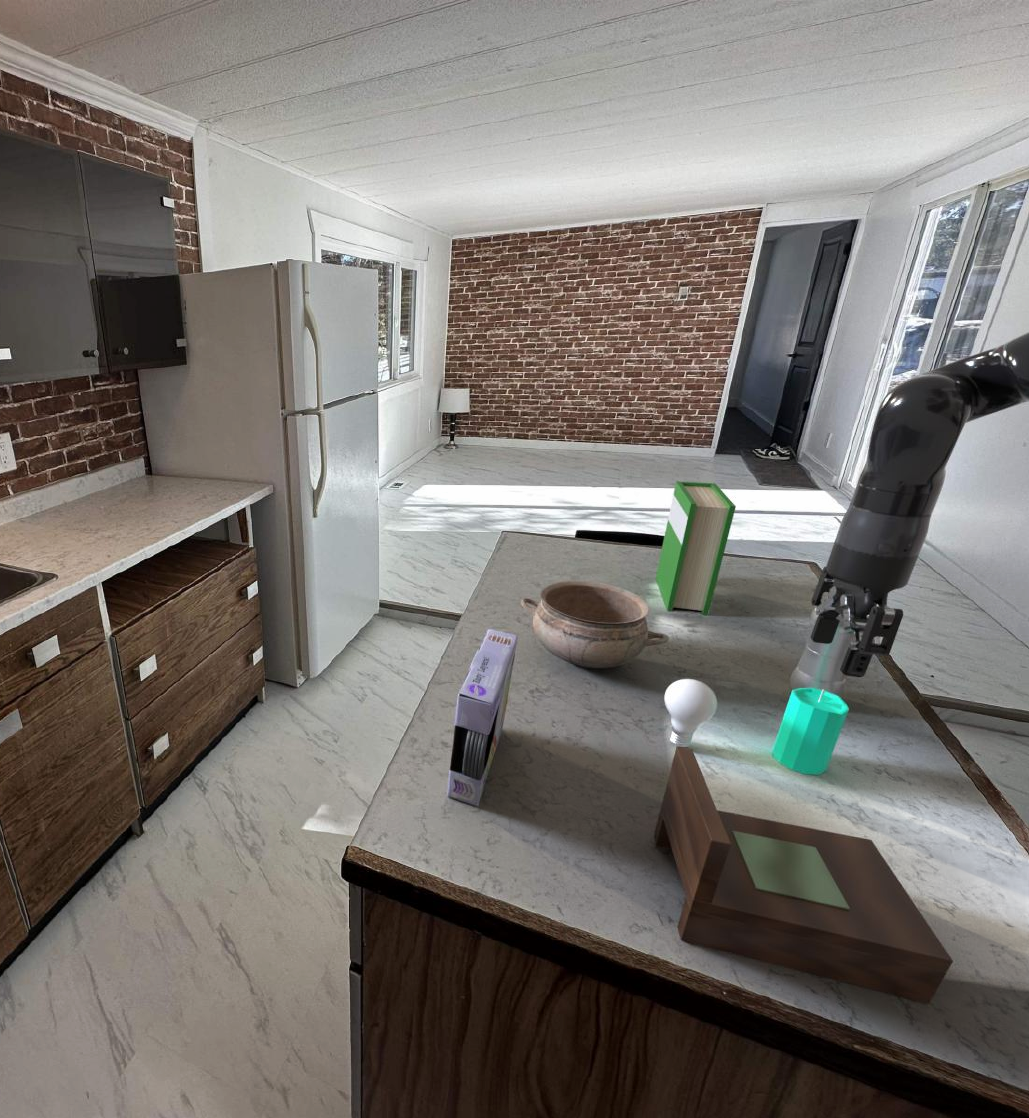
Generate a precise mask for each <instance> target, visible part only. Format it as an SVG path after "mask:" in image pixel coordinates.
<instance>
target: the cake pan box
mask: <svg viewBox="0 0 1029 1118" xmlns="http://www.w3.org/2000/svg"><path fill="white" fill-rule="evenodd" d="M518 638H519V637H518V635H516V634H512V633H510V632H509V633H508V632H504V631H500V630H497V629H492V628H488V629H487V630H486V632H485V635H484V637H483V639H482V642H481V643H480V646H479V648H478V649H477V651H476V652H475V654H474V658H473V660H472V662H471V664H470V666H469V669H468V672H467V674H466V675H465V678H464V680H463V682H462V685H461V688H460V690H459V691H458V694H457V699H456V708H455V716H454V717H455V718H454V727H453V728H454V729H453V737H452V746H451V753H450V761H449V770H448V778H447V790H446V797H448V798H451V799H454V800H456V801H457V800H458V801H460V802H463V803H465V804H468V805H470V806H471V805H472V806H474V807H479V805H480V802H481V798H482V795H483V792H484V788H485V784H486V782H487V779H488V775H489V772H490V769H491V765H492V762H493V759H494V756H495V753H496V750H497V748H498V744H499V741H500V737H501V734H502V731H503V729H504V723H505V717H506V712H507V706H508V700H509V699H508V698H509V693H510V686H511V680H512V673H513V668H514V663H515V657H516V651H517V644H518Z"/></svg>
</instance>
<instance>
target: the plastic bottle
mask: <svg viewBox="0 0 1029 1118" xmlns="http://www.w3.org/2000/svg"><path fill="white" fill-rule="evenodd" d="M816 608H817V606H814V608H813V609H812V611H811V612H810V616H809V627H808V635H807V639H806V644H805V647H804V651H803V653H802V655H801V657H800V658H799V659H800V660H799V661H798V663H797V665H796V667H795V668H794V670H793V671H792V673H791V675H790V681H789V687H790V688H791V691H792V690H795V689H798V688H815V689H819V690H823V689H824V691H827V692H830V693H832V694H835V695H837V696H840V698H841V699H842V696H843V695H844V693H845V689H846V677H847V676H846V675H844V674H843V673H842V672H841V671H840V668H841V666H842V663H843V660H844V658H845V655H846V652H847V650H848V647H850V644H849V633H848V632H847V631H846V630H845V629H844V619H843V617H842V616H841V617H836V618H838V619H839V620H840V622H839V625H838V627H837V630H836V633H835V636H834V639H833V641H832V643H830V644H824V643H815V642H814V641H813V640H812V639H811V634H812V631H813V628H814V626H815V623H816V620H817V617H818V616H819V615H816ZM855 623H856V624H858V625H866V623H858V622H855ZM859 635H860V638H862V635H863V633H859Z"/></svg>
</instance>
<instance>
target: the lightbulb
mask: <svg viewBox="0 0 1029 1118" xmlns="http://www.w3.org/2000/svg"><path fill="white" fill-rule="evenodd" d="M663 700H664V705H665V708H666V710H667V711H668V713H669V715H670V720H671V721H670V723H671V730H670V731H671V732H670V734H669V739H668V740H669V741H670V743H672V744H674V745H676V747H683V748H688V747H690V746H691V744H692V740H693V736H694V734H695V732H697V730H698V729H699V727H700V726H701V725H703V724H705V723H706V722H708V721H709V720H711V719H713V717H714V716H715V714H716V712H717V709H718V699H717V696H716V693H715V692H714V691H713V689H712V688H711V687H710V686H708V685H707V684H706V683H704V682H703V681H700V680H698V679H694V678H693V679H692V678H681V679H677V680H675V681H673V682H672V683H671V684H670V685H668V687H667V688H666V690H665V692H664V697H663Z"/></svg>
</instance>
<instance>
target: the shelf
mask: <svg viewBox="0 0 1029 1118" xmlns="http://www.w3.org/2000/svg"><path fill="white" fill-rule="evenodd" d="M655 824H656V825H655V829H654V831H653V832H654V833H653V836H652V837H653V841H654V844H655V847H657V848H662V849H666V850H671V851H672V853H673V857H674V861H675V864H676V868H677V871H678V874H679V877H680V881H681V885H682V887H683V891H684V895H685V899H684V903H683V907H682V910H681V913H680V917H679V920H678V923H677V926H676V927H677V930H678V931H677V932H678V935H679V938H680V940H681V941H683V942H687V943H691V944H695V945H699V946H703V947H705V948H710V949H713V950H714V949H715V950H718V951H721V952H726V953H730V954H733V955H737V956H741V957H745V958H748V959H752V960H757V961H761V962H765V963H768V964H772V965H777V966H780V967H784V968H788V969H791V970H795V971H800V972H803V973H807V974H811V975H815V976H819V977H823V978H826V979H830V980H834V981H838V982H842V983H846V984H849V985H853V986H857V987H862V988H865V989H868V990H873V991H877V992H881V993H884V994H888V995H892V996H897V997H900V998H903V999H909V1000H912V1001H916V1002H920V1003H924V1004H928V1005H929V1004H930V1003H931V1001H932V999H933V998H934V996H935V994H936V992H937V991H938V989H939V987H940V985H941V984H942V982H943V980H944V979H945V976H946V975H947V973H948V971H949V969H950V968H951V966H952V964H953V962H954V961H953V958H952V957H951V956H950V954H949V953H948V952H947V950H946V948H945V947H944V945H943V944H942V942H941V941H940V939H939V938H938V937H937V935H936V933H935V932H934V931H933V929H932V927H931V926H930V924H929V923H928V922H927V920H926V919H925V917H924V916H923V914H922V913H921V911H920V910H919V909H918V907H917V905H916V904H915V902H914V901H913V899H912V898H911V896H910V894H909V893H908V892H907V890H906V889H905V888H904V886H903V884H902V883H901V882H900V880H899V879H898V877H897V876H896V874H895V872H894V871H893V870H892V868H891V867H890V866H889V864H888V862H887V860H886V859H885V858H884V856H883V855H882V853H881V852H880V850H879V849H878V847H877V846H876V844H875V843H874V842H873V840H872V839H869V838H864V837H858V836H854V835H848V834H843V833H839V832H838V833H837V832H832V831H827V830H823V829H817V828H812V827H807V826H802V825H798V824H797V825H796V824H793V823H791V824H790V823H786V822H780V821H776V820H770V819H765V818H759V817H755V816H749V815H745V814H740V813H734V812H729V811H723V810H718V809H717V807H716V804H715V801H714V799H713V797H712V794H711V792H710V789H709V787H708V784H707V783H706V780H705V776H704V774H703V772H702V770H701V767H700V765H699V762H698V760H697V757H696V754H695V752H694V750H693V749H692V748H688V747H680V746H676V747H675V751H674V754H673V759H672V763H671V766H670V770H669V775H668V778H667V782H666V786H665V790H664V794H663V798H662V802H661V806H660V810H659V813H658V817H657V820H656V823H655Z"/></svg>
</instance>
